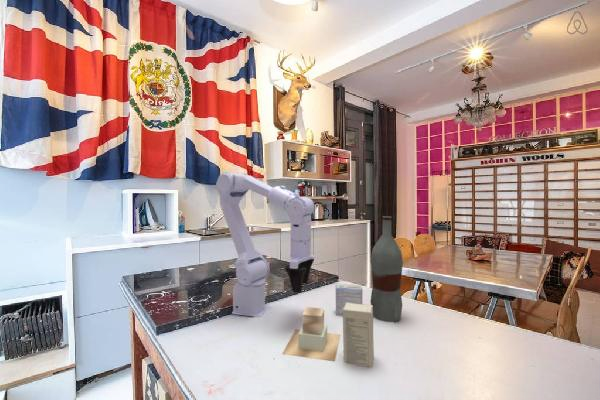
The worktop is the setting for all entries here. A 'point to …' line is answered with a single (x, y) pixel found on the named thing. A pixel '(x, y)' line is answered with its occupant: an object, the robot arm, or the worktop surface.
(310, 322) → the maple cube
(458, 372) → the worktop surface
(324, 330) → the sage block
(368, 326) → the skincare box
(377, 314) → the bottle
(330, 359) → the cork mat
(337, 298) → the medicine box
